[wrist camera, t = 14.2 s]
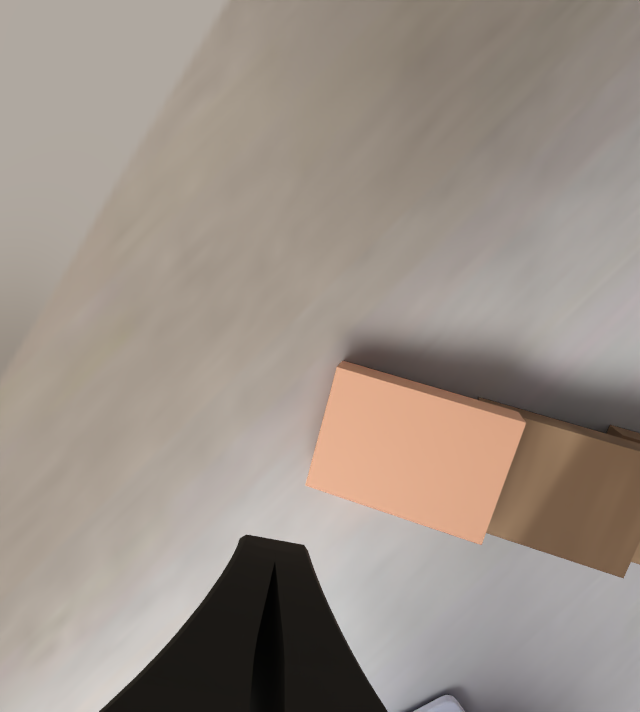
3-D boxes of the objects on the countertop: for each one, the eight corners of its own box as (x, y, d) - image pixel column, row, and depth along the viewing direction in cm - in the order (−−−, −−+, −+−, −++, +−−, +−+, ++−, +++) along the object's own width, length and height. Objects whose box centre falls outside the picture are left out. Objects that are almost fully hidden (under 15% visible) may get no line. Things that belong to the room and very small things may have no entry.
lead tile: (342, 360, 19) (518, 411, 18) (313, 471, 20) (477, 526, 19) (336, 366, 18) (526, 423, 17) (305, 485, 19) (481, 544, 18)
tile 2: (478, 396, 20) (656, 448, 19) (442, 503, 21) (609, 557, 20) (482, 406, 18) (675, 461, 17) (444, 519, 19) (623, 578, 18)
